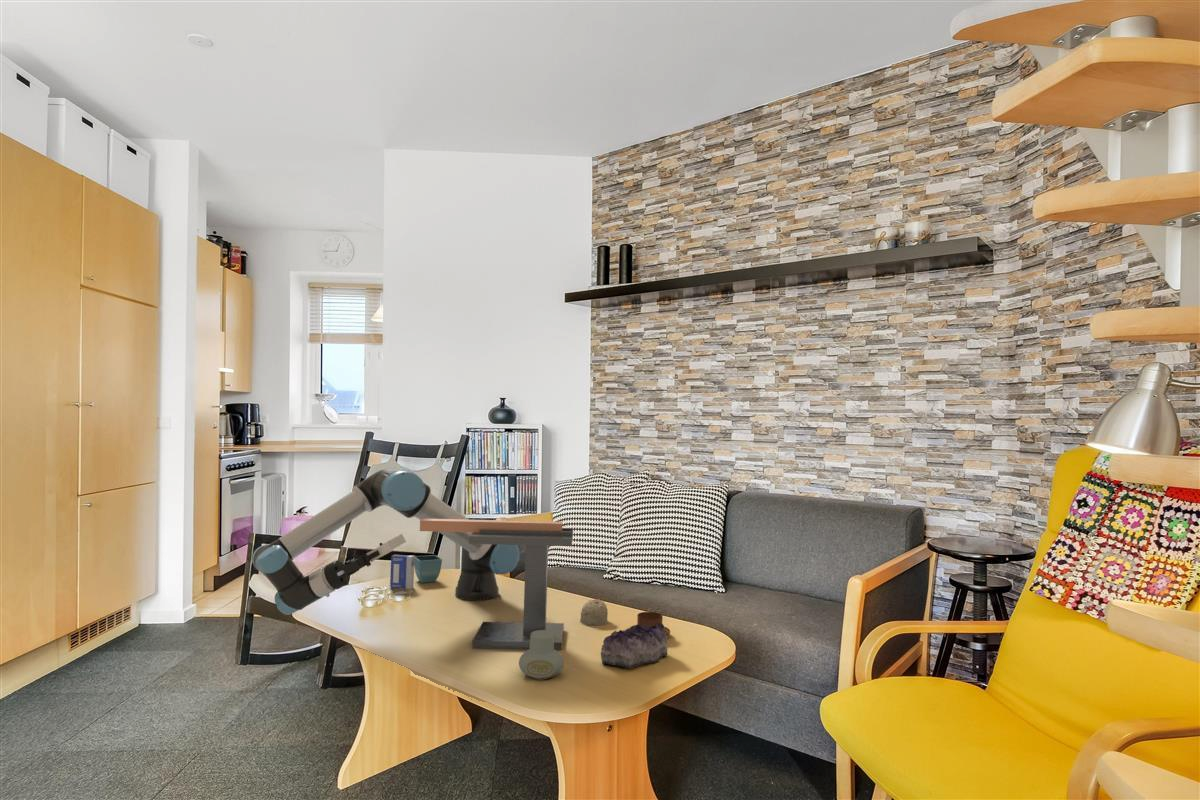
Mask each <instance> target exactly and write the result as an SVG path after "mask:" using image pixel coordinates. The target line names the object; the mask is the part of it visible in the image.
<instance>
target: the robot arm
mask: <svg viewBox="0 0 1200 800" xmlns="http://www.w3.org/2000/svg"><path fill="white" fill-rule="evenodd" d="M382 506H387V507H389V508H391V509H393V510H395V511H396V512H398V513H399V514H401V515H402V516H404V517H405V518H408V519H412V518H416V519H418V520H419V521H420V520H422V519H423V518H424V519H466V520H470V519H469V518H468V517H466V516H464V514H462V513H461V512H459V511H457V510H456V509H455V508H453V507H452V506H450V505H449V504H447V503H446V502H444V501H442V500H441V499H440V498H438V496H436V495H434V494H433V493H432V489H431V486H429V485H428V484H426V483H425V482H424V481H423V479H422V477H420V476H419V475H418V474H416V473H415V472H412V471H410V470H406V469H397V468H396V469H395V468H383V469H381V470H377V471H376V472H374V473H373V474H371V475H370V476H367V477H366V478H364V479H363V480H362V481H360V482H359V483H357V484H356V485H354V486H353V487H352V491H351V492H349V493H348V494H346V495H345V496H342V497H341V498H340V499H338V500H337V501H335V502H334V503H332V504H330V505H329V506H327V507H326V508H324V509H322V510H321V511H319V512H318V513H317V514H315V515H313V516H312V517H310V518H308V519H307V520H306V521H304V522H302V523H301V524H300V525H297V526H296V527H294V528H293V529H291V530H290V531H288V532H287V533H286V534H283V535H282V536H281V537H279V538H278V539H276V540H274V541H273V542H271V543H269V544H264V545H261V546H259V547H257V548H255V550H254V551H253V553H252V556H251V561H252V565H253V567H254V568H255V570H257V571H258V572H259V573H261V574H262V575H263V576H265V578H266V579H267V580H268V581H269V582H270V584H272V586H273V587H274V588H275V590H276V591H277V592H276V593H275V594H274V603H275V605H276V608H277V609H278V611H280V613H282V614H283V615H293V614H294V613H296V612H299V611H301V610H304V608H306V607H308V606H310V605H311V604H313V603H315V602H316V601H318V600H320V599H323V598H324V597H326V598H329V597H330V595H331V593H333V592H335V591H336V590H339V589H341V588H343V587H344V586H347V585H348V584H349V582H350V581H351V579H350V576H353V575H354V574H355V573H357V572H358V571H360V569H362V568H365V567H371V565H372V562H374V561H377V560H378V559H380V558H381V557H384V556H386V555H388V554H389V553H391V552H393V551H394V549H396V548H398V547H400V546H401V545H403V544H405V543H407V541H406V538H405V537H404V535H403V533H401V534H399V535H397V536H395V537H393V538H391V539H390V540H387V541H385V542H384V543H383V542H380V543H379V546H378V547H376V548H374V549H372V550H371V551H368V552H366V553H365V554H364V555H363V554H360V555H358V556H356V557H354V558H350V559H349V560H346V561H344V563H343V562H342V561H341V560H337V559H336V560H333V561H332V562H330V563H328V564H326V565H325V566H322V567H320V568H318V569H316V570H315V571H312V572H311V573H309V574H307V575H306V576H304V574H303V573H302V572H301V570H300V568H298V566H297V565H296V564H295V562H294V561H293V560H294V559H295V558H298V557H299V556H301V554H303V553H305V552H306V551H308V550H310V548H312V547H314V546H316V545H317V544H319V543H320V542H321V541H323V540H324V539H326V538H328V537H329V536H331V535H332V534H333V533H335V532H337V531H338V530H340V529H341V528H342V527H344V526H346V525H347V524H349V523H350V522H352V521H353V520H355V519H357V518H358V517H359V516H360V515H362V514H363V513H365V512H373V511H374V510H376V509H377V508H380V507H382ZM438 533H439V534H441V535H443V536H444V537H445V538H447V539H449V540H450V541H451V542H453V543H455V544H457V545H459V547H461V557H460V558H461V563H460V564H461V565H460V568H461V569H460V574H459V575H460V576H459V579H458V581H457V585H456V586H455V590H454V591H455V593H454V596H455V597H456V598H458V599H462V600H470V601H472V600H473V601H479V600H480V601H481V600H484V601H485V600H490V599H494V598H496V597H498V596H499V591H500V590H499V586H498V583H497V579H496V575H507V574H509V573H511V572H512V571H513V570H514V569H515V568H516V567H517V565H518V563H519V560H520V549H519V545H498V544H469V536H470V535H471V534H472V533H473V532H438ZM495 574H496V575H495Z"/></svg>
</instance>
